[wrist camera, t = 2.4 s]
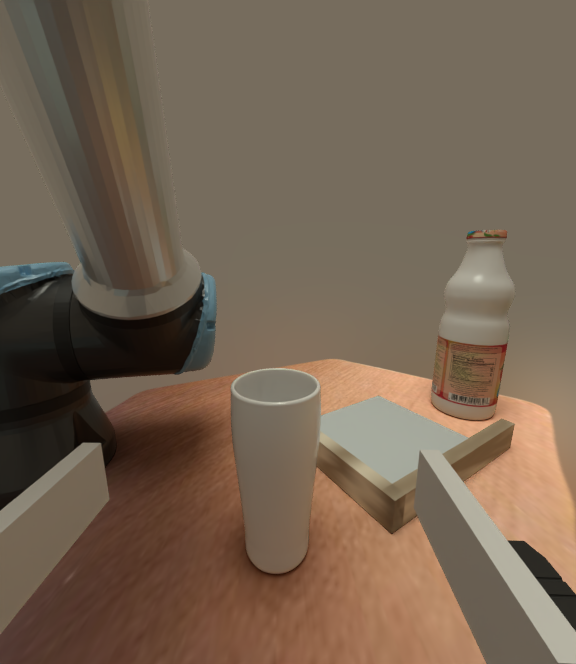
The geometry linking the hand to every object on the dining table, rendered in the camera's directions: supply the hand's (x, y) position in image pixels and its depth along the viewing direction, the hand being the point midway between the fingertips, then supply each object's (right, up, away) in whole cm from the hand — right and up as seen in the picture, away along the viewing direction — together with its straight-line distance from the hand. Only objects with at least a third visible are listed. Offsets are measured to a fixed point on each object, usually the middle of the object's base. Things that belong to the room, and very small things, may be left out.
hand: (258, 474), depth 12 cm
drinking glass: (0, -13, +13) cm, 18 cm away
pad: (+15, -8, +31) cm, 35 cm away
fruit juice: (+30, -7, +38) cm, 49 cm away
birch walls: (+16, -9, +27) cm, 33 cm away
